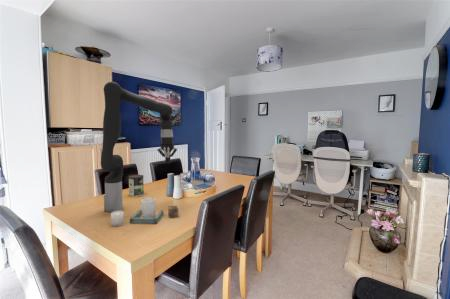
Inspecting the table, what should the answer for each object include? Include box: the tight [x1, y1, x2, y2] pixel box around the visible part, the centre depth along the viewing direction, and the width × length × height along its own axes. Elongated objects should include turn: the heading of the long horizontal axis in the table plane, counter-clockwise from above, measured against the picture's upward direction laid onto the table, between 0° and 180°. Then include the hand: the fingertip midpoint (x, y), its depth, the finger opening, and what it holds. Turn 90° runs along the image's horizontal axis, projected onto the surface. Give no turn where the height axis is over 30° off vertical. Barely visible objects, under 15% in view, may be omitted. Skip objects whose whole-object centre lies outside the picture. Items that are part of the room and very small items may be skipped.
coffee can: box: [128, 174, 145, 198], centre depth 164 cm, size 10×10×14 cm
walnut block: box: [167, 205, 179, 219], centre depth 126 cm, size 5×5×5 cm
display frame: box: [129, 209, 165, 225], centre depth 122 cm, size 14×12×2 cm
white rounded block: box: [110, 210, 125, 227], centre depth 114 cm, size 6×6×6 cm
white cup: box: [140, 197, 157, 218], centre depth 123 cm, size 8×8×10 cm
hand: (167, 163), depth 144 cm, fingers closed
